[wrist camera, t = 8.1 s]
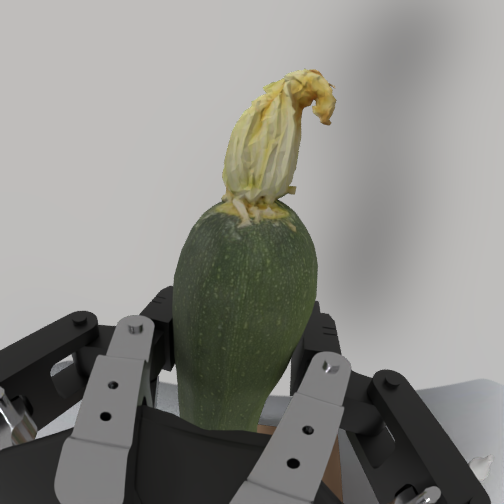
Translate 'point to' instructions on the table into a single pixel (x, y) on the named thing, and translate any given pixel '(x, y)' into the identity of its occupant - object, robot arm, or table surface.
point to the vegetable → (248, 266)
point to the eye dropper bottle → (481, 466)
